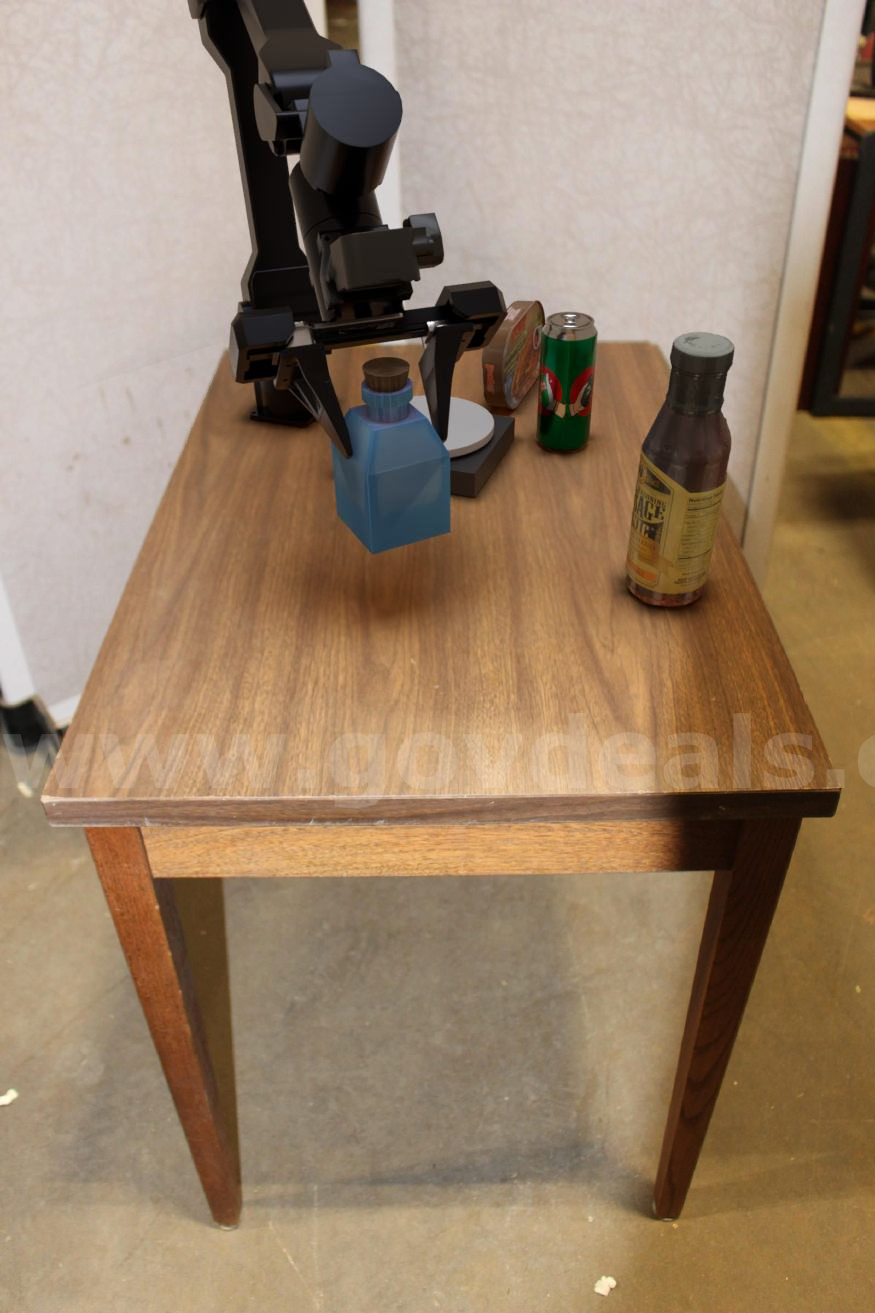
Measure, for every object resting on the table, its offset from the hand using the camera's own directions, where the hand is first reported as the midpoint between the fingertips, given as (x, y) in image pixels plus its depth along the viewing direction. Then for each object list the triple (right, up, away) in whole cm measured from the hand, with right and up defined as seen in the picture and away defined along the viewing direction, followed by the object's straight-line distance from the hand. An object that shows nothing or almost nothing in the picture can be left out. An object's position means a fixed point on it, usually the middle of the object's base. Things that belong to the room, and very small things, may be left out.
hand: (396, 449), depth 73 cm
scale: (+2, +5, +28) cm, 28 cm away
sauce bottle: (+20, -9, +10) cm, 24 cm away
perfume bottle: (0, -5, +5) cm, 7 cm away
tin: (+11, +14, +40) cm, 43 cm away
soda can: (+15, +6, +30) cm, 34 cm away
